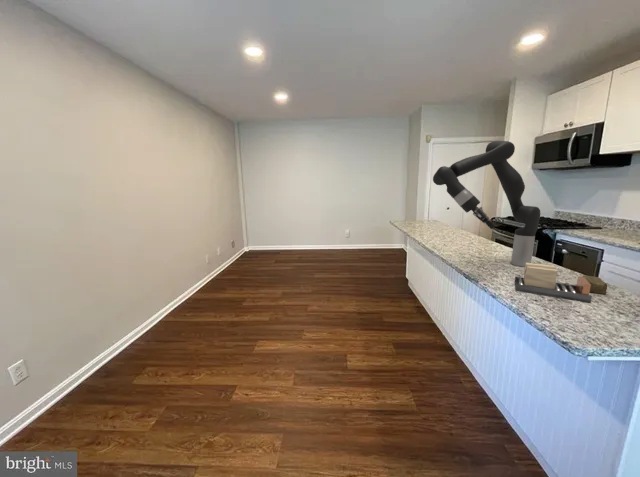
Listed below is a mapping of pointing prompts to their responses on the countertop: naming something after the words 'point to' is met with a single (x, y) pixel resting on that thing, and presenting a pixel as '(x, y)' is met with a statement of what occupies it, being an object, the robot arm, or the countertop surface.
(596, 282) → the stone block
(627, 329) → the countertop surface
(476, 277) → the countertop surface
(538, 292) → the roller track
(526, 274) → the birch slab
